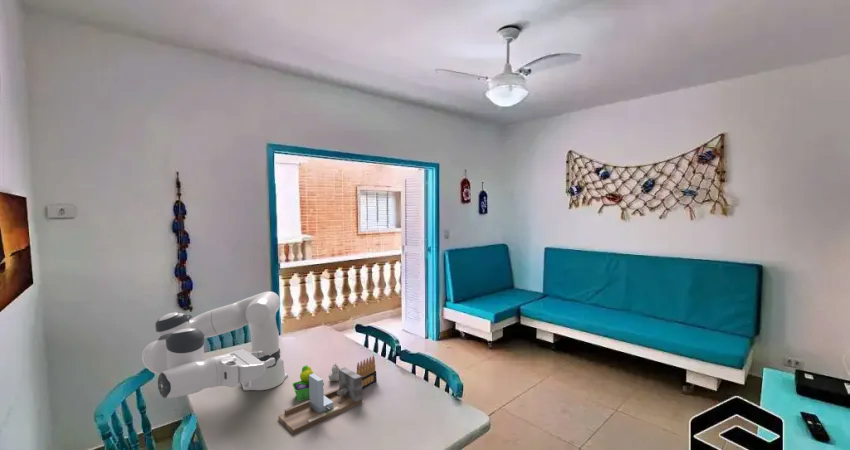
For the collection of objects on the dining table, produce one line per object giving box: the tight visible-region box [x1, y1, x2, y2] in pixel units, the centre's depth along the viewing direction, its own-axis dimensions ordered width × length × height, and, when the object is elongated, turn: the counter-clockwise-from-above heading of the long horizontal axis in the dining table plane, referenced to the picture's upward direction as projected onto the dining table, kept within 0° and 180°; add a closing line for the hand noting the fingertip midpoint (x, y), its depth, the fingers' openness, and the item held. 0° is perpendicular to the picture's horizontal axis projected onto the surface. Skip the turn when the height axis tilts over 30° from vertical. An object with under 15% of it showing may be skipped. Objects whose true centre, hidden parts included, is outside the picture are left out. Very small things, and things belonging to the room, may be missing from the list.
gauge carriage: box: [309, 373, 334, 413], centre depth 136 cm, size 10×6×12 cm, turn 44°
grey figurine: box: [328, 363, 340, 382], centre depth 162 cm, size 5×7×8 cm
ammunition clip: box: [355, 355, 378, 391], centre depth 156 cm, size 11×2×12 cm, turn 143°
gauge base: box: [278, 366, 363, 435], centre depth 137 cm, size 12×28×10 cm, turn 134°
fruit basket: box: [292, 364, 325, 402], centre depth 150 cm, size 11×9×11 cm
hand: (268, 357), depth 123 cm, fingers open, 8 cm apart
